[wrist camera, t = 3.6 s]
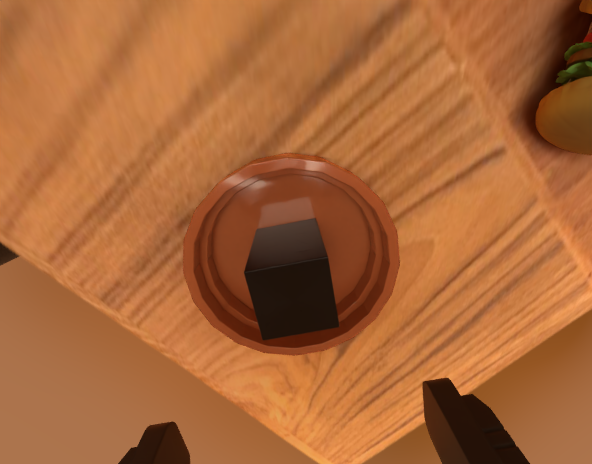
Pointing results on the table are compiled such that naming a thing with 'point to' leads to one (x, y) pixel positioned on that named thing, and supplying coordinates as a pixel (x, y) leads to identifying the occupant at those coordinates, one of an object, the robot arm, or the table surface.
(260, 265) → the block
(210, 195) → the pan
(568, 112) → the hamburger
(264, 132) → the table surface
